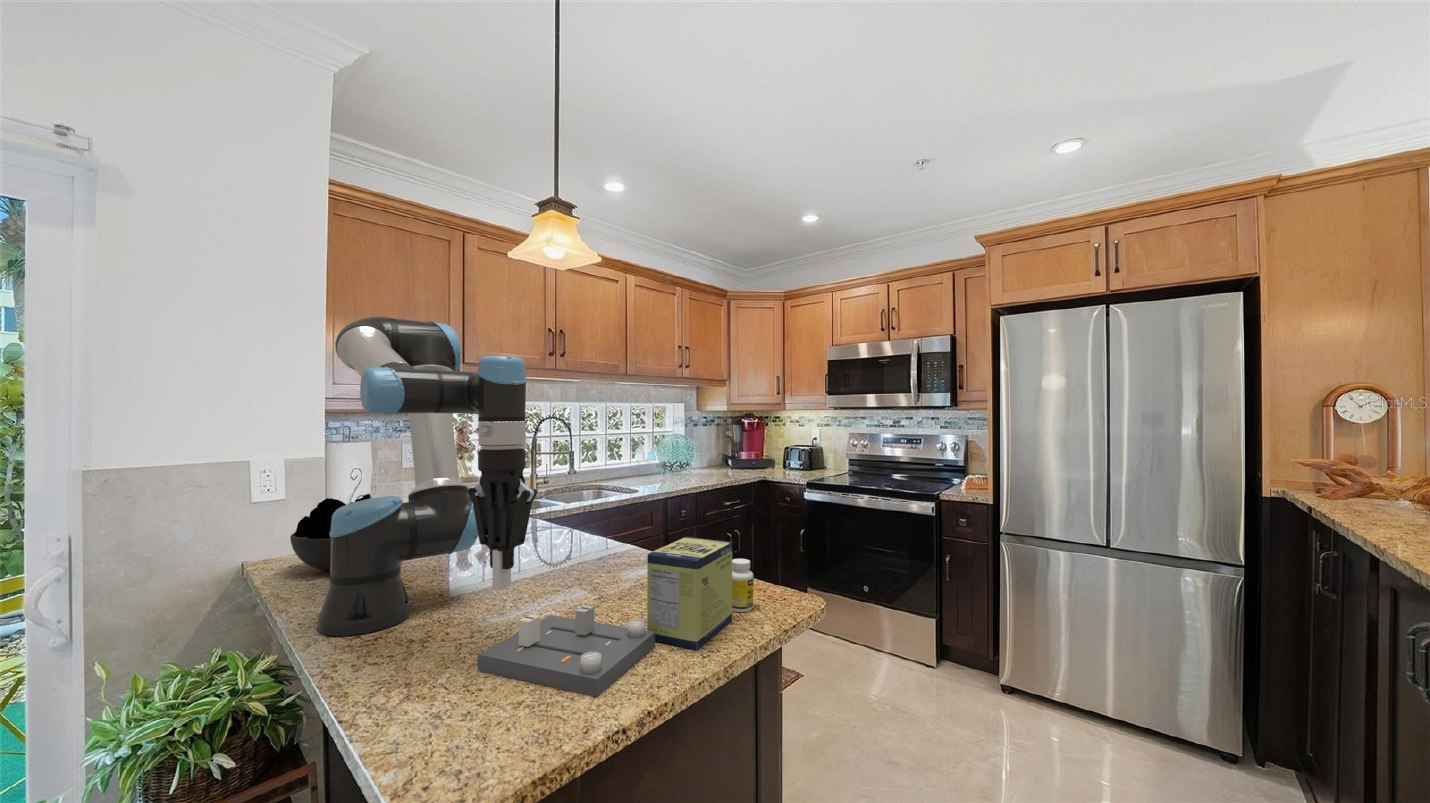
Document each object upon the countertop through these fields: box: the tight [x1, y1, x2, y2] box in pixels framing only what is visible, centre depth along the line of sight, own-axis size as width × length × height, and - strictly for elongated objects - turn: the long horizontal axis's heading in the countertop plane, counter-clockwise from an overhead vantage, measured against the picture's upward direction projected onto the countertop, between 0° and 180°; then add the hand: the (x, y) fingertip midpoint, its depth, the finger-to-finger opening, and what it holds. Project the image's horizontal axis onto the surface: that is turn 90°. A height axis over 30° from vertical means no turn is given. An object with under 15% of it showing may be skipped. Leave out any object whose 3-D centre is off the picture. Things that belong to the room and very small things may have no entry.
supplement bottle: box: [732, 558, 754, 613], centre depth 113 cm, size 5×5×10 cm
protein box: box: [646, 536, 733, 651], centre depth 102 cm, size 10×16×16 cm
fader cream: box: [518, 613, 541, 647], centre depth 90 cm, size 2×3×4 cm
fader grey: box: [574, 604, 595, 636], centre depth 94 cm, size 2×3×4 cm
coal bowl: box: [289, 493, 372, 572], centre depth 141 cm, size 20×20×19 cm
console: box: [477, 614, 656, 698], centre depth 90 cm, size 22×18×5 cm
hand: (501, 587), depth 92 cm, fingers closed
